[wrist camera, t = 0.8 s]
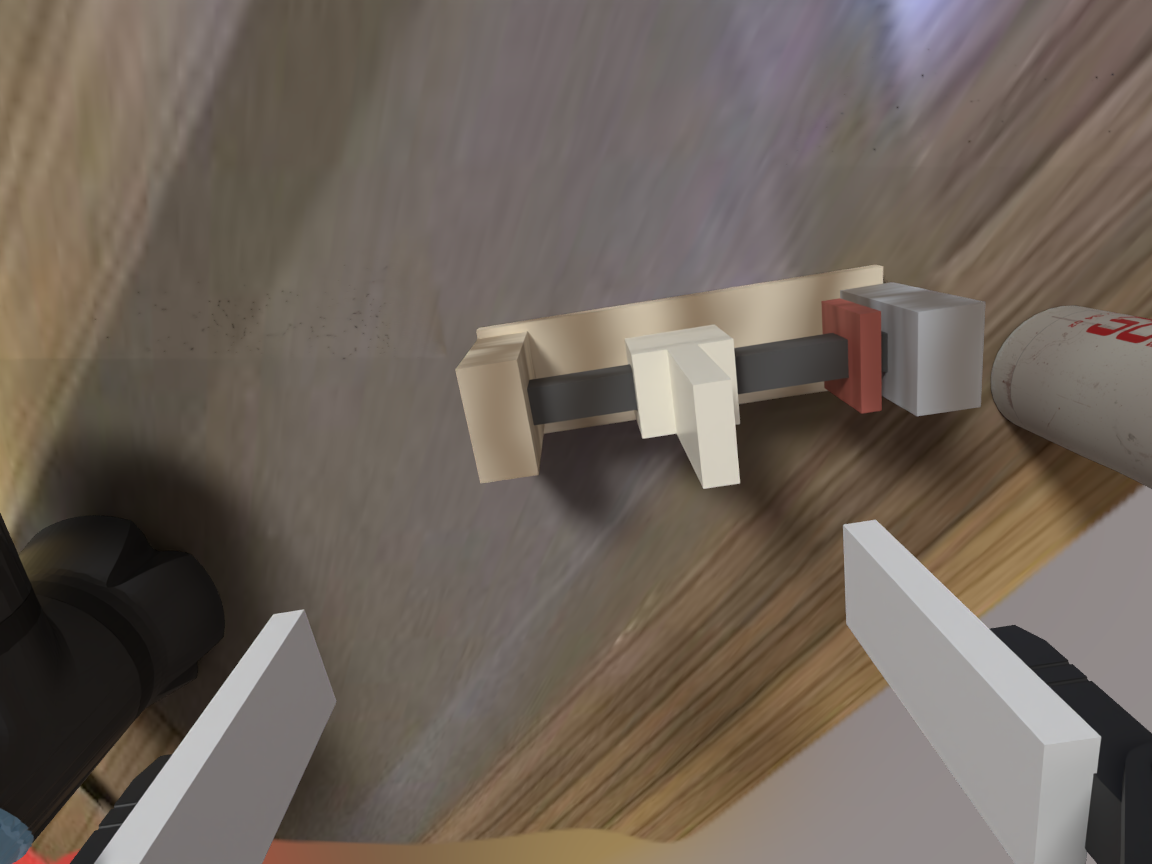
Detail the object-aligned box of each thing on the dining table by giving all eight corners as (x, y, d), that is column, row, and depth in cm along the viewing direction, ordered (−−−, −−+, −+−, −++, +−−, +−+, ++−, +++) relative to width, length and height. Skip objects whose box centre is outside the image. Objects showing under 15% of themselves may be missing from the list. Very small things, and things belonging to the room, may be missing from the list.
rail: (500, 435, 42) (479, 500, 32) (478, 327, 39) (449, 364, 30) (884, 377, 41) (979, 426, 31) (883, 263, 38) (986, 279, 29)
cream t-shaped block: (634, 413, 37) (660, 494, 26) (624, 338, 36) (647, 392, 25) (721, 400, 37) (783, 477, 26) (714, 324, 36) (776, 372, 25)
